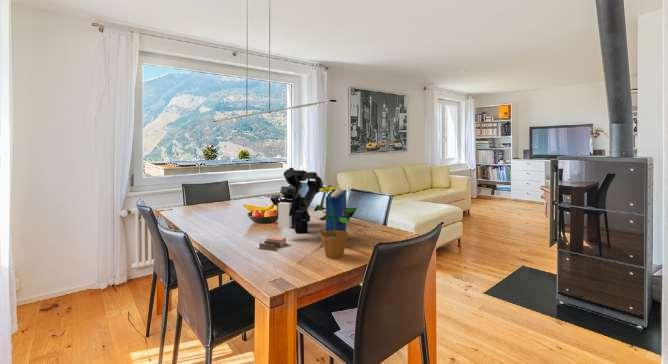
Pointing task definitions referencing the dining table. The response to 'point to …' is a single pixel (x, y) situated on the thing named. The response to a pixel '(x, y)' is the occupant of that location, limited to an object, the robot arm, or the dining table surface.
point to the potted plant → (334, 238)
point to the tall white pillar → (284, 215)
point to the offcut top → (276, 239)
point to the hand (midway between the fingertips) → (283, 215)
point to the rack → (270, 245)
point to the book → (336, 209)
